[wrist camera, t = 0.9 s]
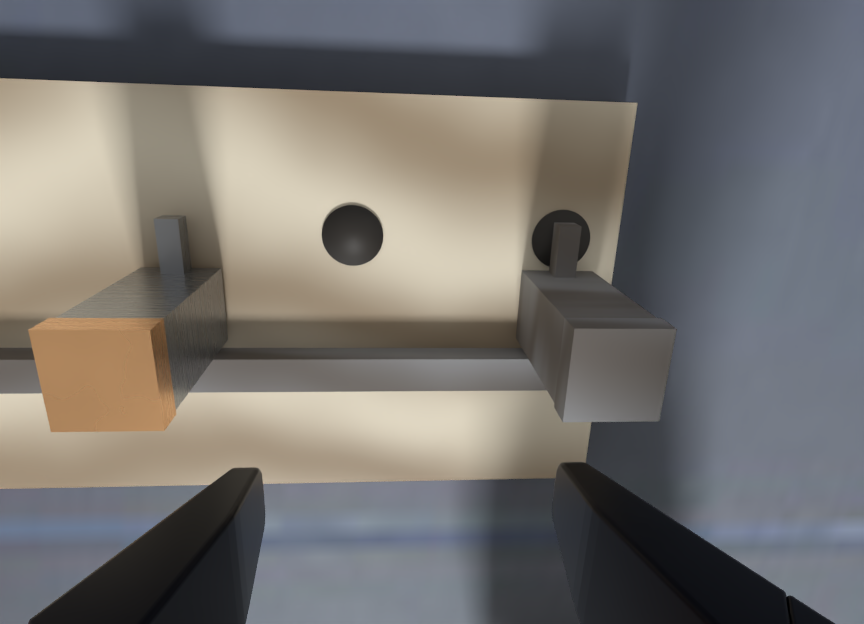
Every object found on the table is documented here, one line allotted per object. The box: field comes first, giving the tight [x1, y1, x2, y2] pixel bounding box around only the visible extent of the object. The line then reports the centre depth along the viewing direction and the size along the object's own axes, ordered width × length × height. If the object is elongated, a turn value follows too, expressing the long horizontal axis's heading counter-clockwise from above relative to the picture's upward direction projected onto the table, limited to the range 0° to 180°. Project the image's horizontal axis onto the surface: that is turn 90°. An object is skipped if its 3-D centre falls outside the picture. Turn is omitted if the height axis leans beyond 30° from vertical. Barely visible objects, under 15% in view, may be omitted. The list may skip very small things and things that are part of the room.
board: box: [0, 78, 677, 489], centre depth 16 cm, size 14×25×7 cm, turn 88°
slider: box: [28, 215, 228, 432], centre depth 15 cm, size 4×3×6 cm, turn 178°
